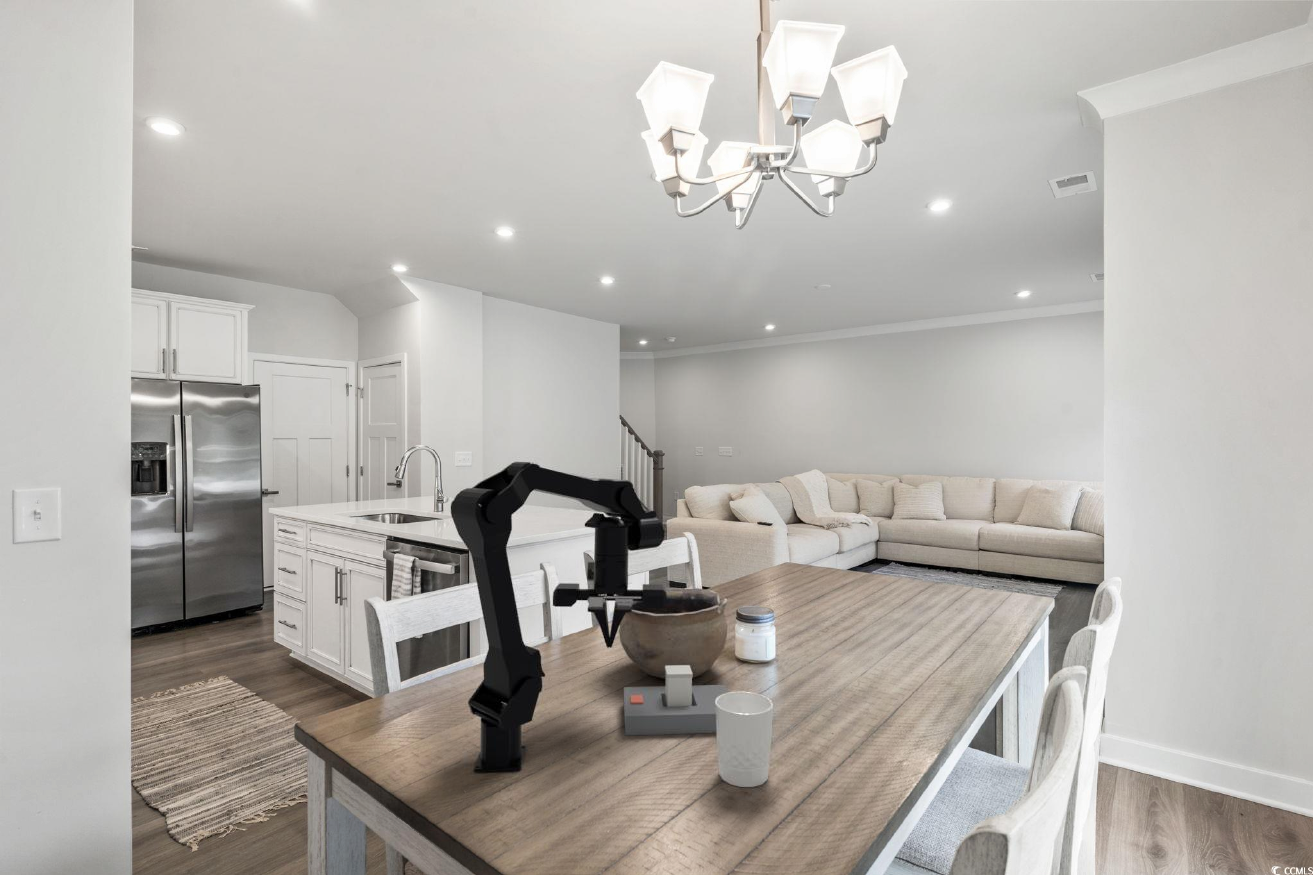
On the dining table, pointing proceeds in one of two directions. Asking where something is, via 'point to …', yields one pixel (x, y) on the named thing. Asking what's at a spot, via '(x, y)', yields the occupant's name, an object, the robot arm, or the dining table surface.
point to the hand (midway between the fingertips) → (609, 646)
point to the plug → (678, 685)
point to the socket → (670, 711)
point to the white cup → (743, 737)
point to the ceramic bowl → (676, 632)
